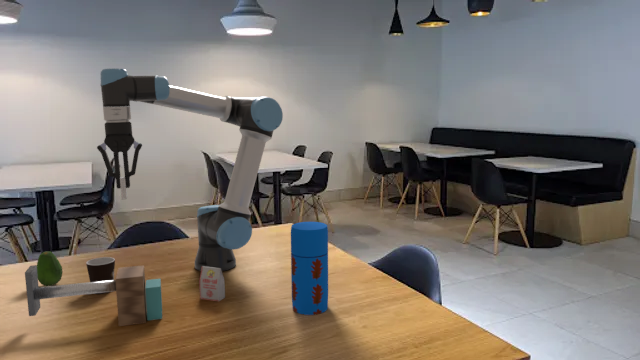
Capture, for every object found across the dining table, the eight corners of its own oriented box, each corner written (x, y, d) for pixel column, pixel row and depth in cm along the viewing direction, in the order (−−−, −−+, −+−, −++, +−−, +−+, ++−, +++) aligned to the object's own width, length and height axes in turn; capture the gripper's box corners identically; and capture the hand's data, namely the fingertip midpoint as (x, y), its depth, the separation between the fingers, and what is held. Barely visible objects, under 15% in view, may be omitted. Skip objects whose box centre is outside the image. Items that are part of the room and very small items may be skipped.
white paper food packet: (206, 294, 162) (205, 264, 161) (225, 297, 160) (223, 266, 158) (200, 298, 159) (198, 268, 157) (218, 301, 157) (217, 270, 155)
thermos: (301, 318, 144) (300, 232, 140) (286, 304, 153) (284, 224, 150) (334, 310, 149) (334, 227, 145) (318, 298, 158) (317, 220, 155)
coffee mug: (106, 296, 161) (104, 265, 160) (82, 294, 163) (80, 264, 162) (127, 283, 173) (125, 255, 171) (104, 282, 174) (102, 253, 173)
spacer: (162, 309, 151) (160, 278, 149) (162, 318, 144) (160, 286, 143) (148, 310, 150) (146, 280, 148) (147, 320, 143) (145, 288, 142)
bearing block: (146, 309, 151) (144, 265, 149) (145, 322, 141) (142, 276, 139) (121, 312, 149) (118, 267, 147) (118, 326, 139) (115, 278, 137)
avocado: (32, 287, 170) (28, 252, 168) (54, 280, 176) (51, 246, 175) (47, 291, 166) (44, 256, 164) (69, 284, 173) (66, 249, 171)
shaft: (132, 296, 147) (130, 256, 145) (131, 304, 142) (128, 263, 140) (34, 307, 140) (30, 265, 138) (29, 316, 134) (24, 272, 132)
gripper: (92, 122, 147) (100, 202, 151) (140, 121, 151) (146, 199, 155) (95, 121, 154) (102, 198, 158) (141, 120, 158) (147, 194, 162)
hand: (124, 198), depth 156 cm, fingers closed
